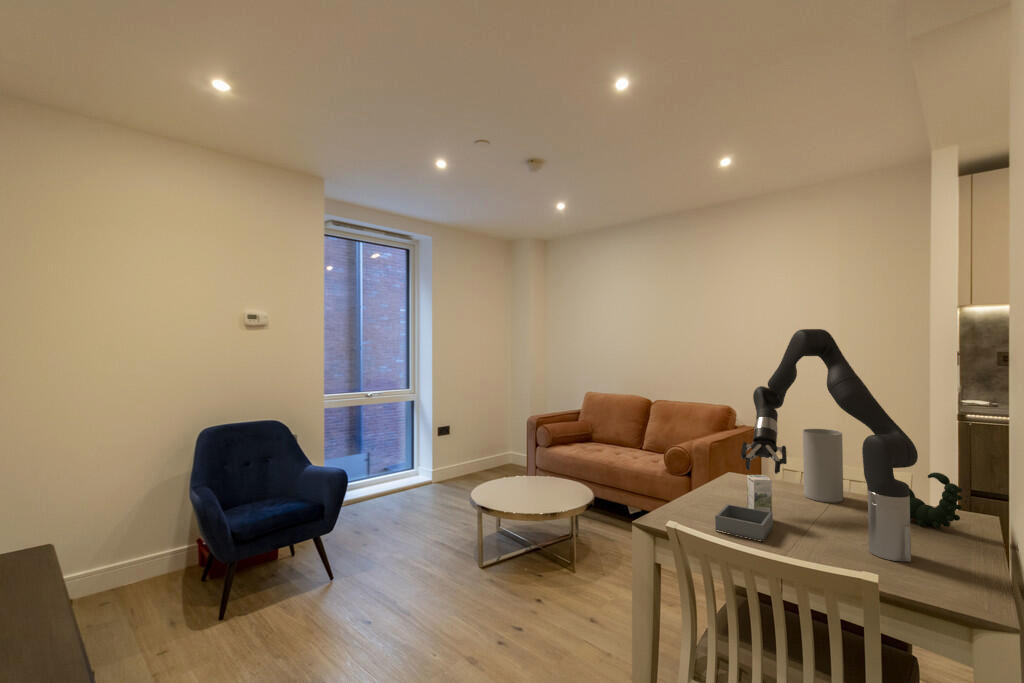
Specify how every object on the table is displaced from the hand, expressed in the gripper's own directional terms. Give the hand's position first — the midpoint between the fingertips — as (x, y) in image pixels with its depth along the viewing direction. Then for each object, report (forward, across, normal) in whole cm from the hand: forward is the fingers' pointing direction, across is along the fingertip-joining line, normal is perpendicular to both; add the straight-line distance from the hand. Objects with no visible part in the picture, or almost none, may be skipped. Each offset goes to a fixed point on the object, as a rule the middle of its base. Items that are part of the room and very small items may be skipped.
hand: (762, 470), depth 166 cm
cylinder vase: (-10, +17, +31) cm, 37 cm away
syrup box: (+16, 0, +5) cm, 17 cm away
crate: (+24, -3, -3) cm, 25 cm away
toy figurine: (-1, +42, +22) cm, 48 cm away
